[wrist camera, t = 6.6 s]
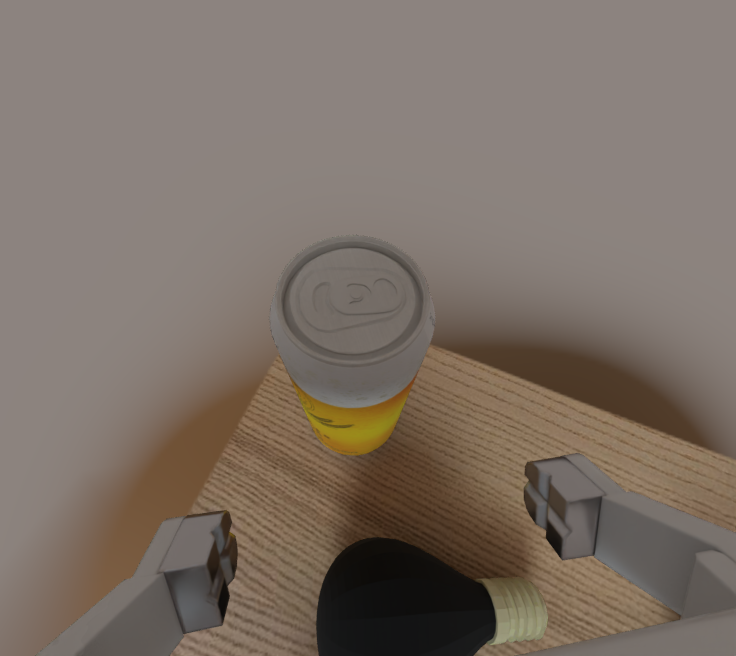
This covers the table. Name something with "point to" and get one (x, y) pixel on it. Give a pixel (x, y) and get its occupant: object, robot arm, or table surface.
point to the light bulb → (418, 605)
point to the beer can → (352, 336)
